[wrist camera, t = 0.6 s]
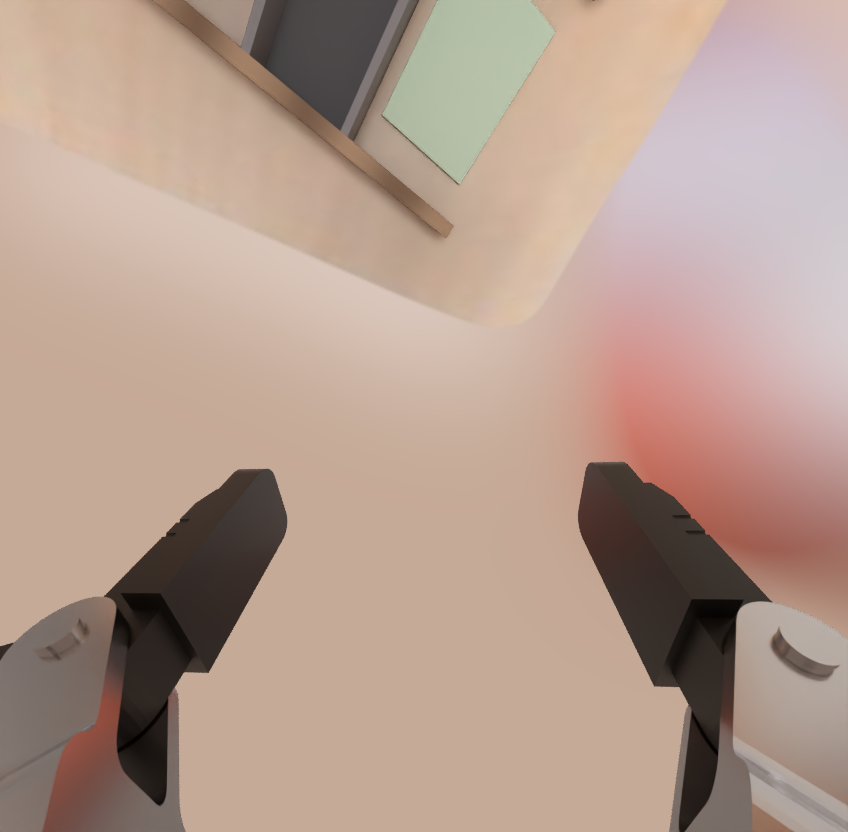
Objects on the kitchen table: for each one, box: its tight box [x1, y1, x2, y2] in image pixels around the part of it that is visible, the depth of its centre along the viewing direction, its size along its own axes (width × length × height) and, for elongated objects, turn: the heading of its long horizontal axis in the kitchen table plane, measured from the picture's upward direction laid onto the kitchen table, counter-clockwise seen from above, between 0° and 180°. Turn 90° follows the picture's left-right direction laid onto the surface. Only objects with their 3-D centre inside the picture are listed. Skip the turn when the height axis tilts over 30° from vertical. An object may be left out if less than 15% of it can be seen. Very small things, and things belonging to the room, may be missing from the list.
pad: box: [382, 0, 556, 184], centre depth 23 cm, size 7×10×1 cm
